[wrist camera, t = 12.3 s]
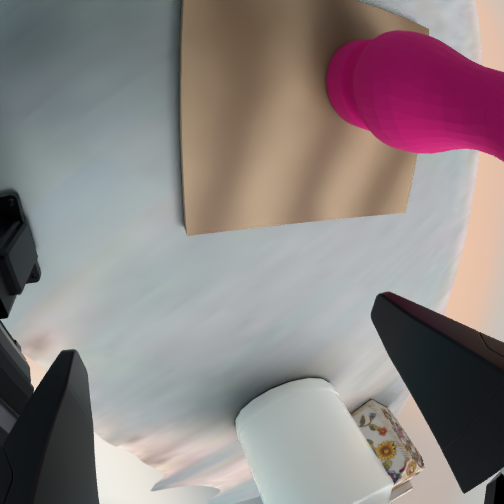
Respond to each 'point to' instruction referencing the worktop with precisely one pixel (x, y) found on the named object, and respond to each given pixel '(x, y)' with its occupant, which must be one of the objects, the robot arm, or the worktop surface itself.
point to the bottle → (309, 448)
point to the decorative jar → (389, 445)
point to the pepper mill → (418, 94)
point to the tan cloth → (278, 117)
